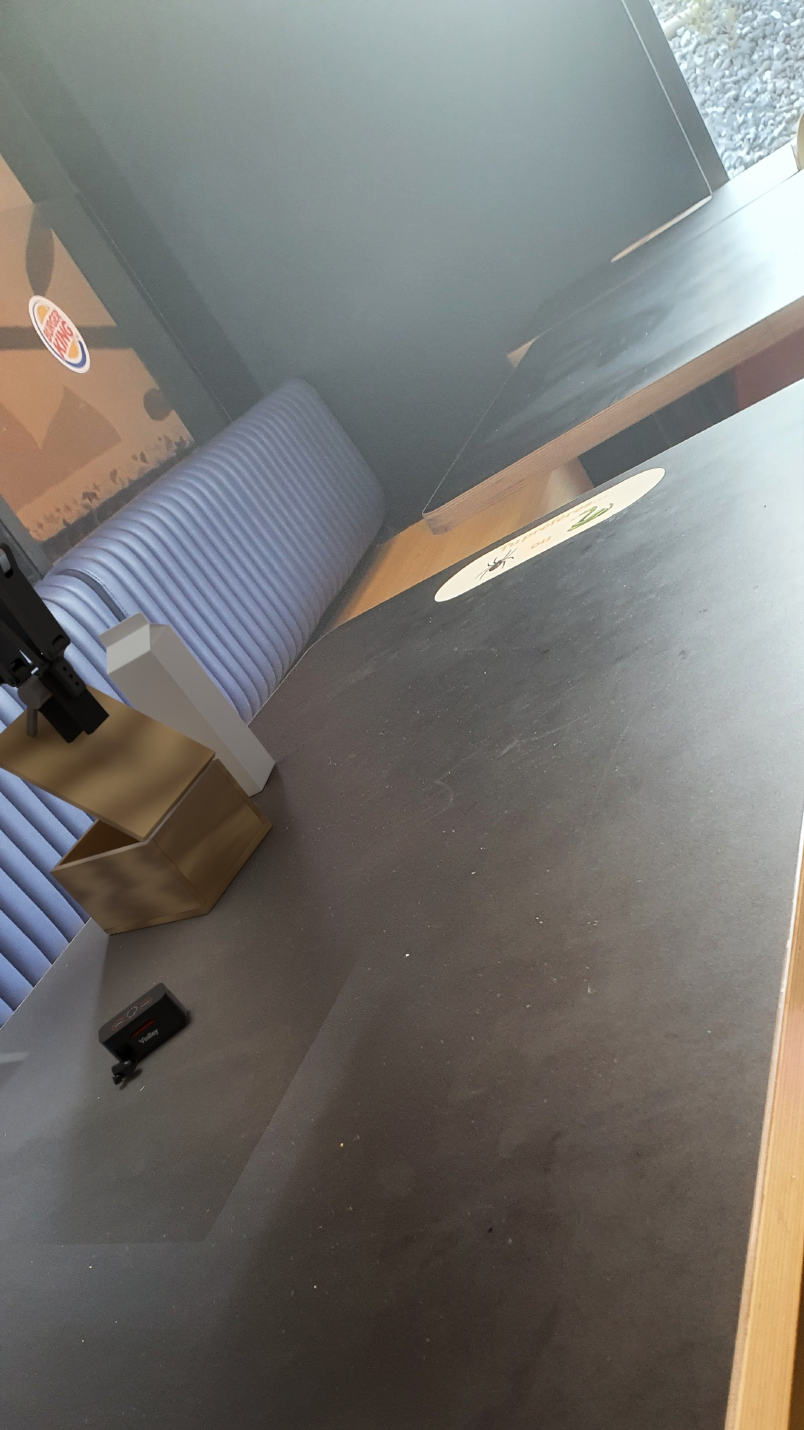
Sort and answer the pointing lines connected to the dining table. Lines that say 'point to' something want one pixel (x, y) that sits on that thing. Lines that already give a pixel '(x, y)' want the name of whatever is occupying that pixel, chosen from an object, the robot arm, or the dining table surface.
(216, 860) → the chest
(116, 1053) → the black clip-on device
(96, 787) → the lid
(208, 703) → the milk
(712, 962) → the dining table surface
